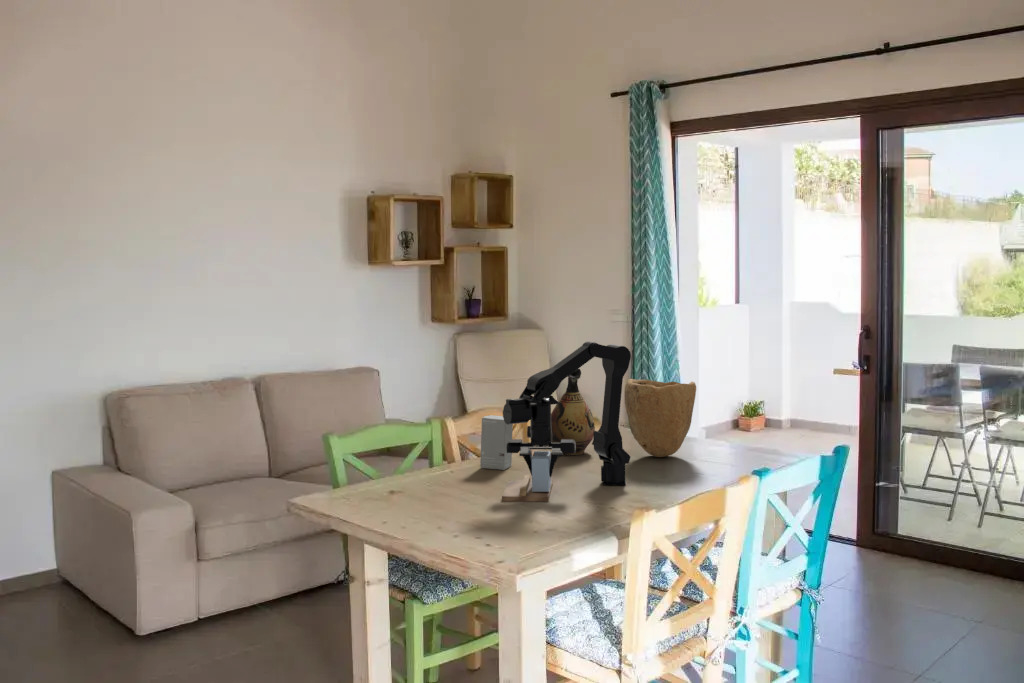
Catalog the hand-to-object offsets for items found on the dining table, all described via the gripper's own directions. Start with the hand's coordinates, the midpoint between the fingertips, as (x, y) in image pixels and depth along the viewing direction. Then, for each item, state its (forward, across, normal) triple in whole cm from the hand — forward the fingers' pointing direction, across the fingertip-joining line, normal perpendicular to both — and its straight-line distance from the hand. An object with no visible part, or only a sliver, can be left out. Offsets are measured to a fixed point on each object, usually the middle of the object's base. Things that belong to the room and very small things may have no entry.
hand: (541, 476), depth 270 cm
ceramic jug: (+5, -6, -54) cm, 55 cm away
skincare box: (+5, +16, -31) cm, 35 cm away
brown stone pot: (+5, -35, -47) cm, 59 cm away
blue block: (+3, 0, 0) cm, 3 cm away
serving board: (+4, +4, 0) cm, 6 cm away
